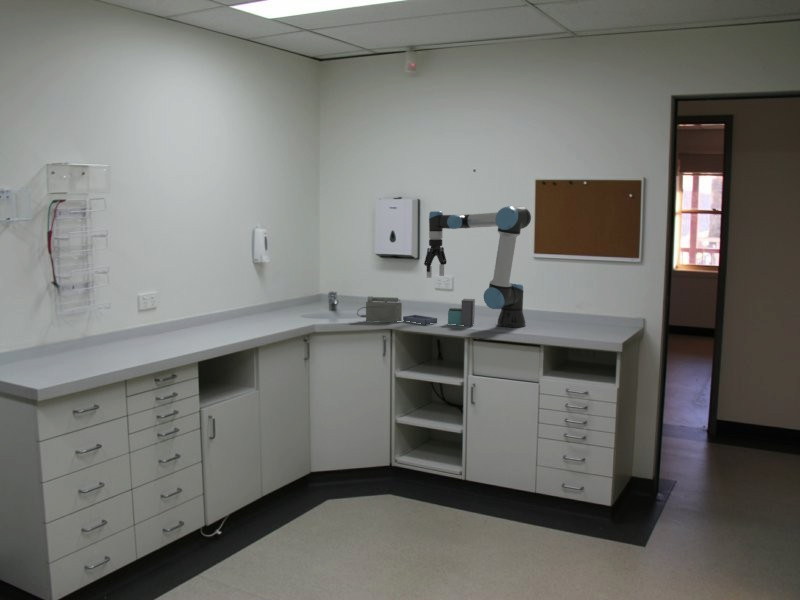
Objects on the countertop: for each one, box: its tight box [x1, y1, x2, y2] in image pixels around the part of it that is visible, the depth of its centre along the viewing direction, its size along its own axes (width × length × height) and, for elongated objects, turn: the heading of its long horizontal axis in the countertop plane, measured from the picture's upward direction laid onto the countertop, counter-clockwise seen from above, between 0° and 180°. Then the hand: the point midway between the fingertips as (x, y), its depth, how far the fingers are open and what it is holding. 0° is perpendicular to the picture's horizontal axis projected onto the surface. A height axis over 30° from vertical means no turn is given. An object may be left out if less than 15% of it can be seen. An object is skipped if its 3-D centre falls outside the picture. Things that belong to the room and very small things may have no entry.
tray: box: [402, 314, 438, 326], centre depth 413 cm, size 17×10×3 cm, turn 46°
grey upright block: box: [460, 298, 476, 327], centre depth 405 cm, size 6×8×14 cm
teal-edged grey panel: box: [447, 307, 462, 325], centre depth 406 cm, size 12×4×9 cm, turn 77°
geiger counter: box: [356, 295, 403, 323], centre depth 415 cm, size 14×6×25 cm
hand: (435, 276), depth 421 cm, fingers open, 13 cm apart
